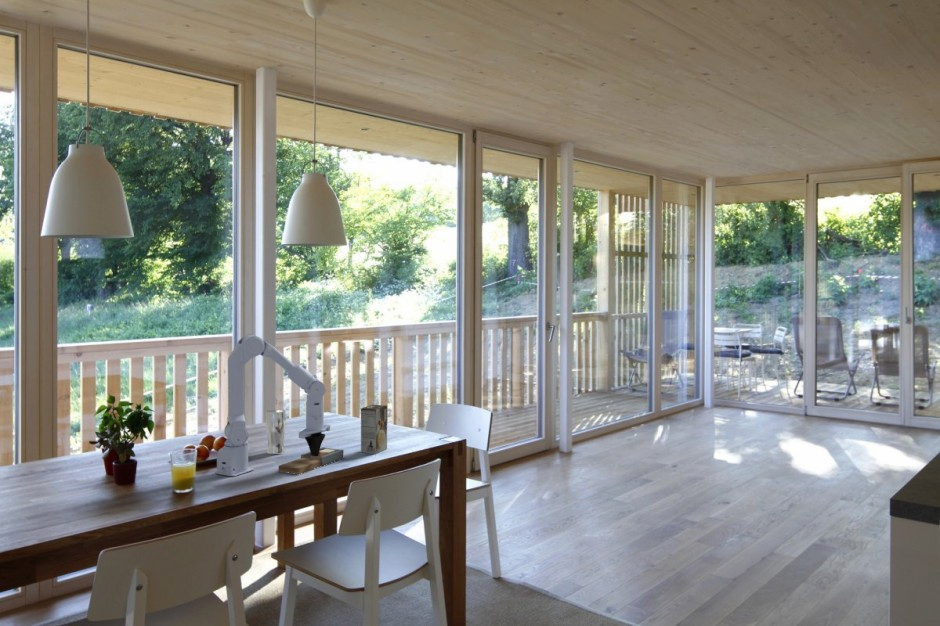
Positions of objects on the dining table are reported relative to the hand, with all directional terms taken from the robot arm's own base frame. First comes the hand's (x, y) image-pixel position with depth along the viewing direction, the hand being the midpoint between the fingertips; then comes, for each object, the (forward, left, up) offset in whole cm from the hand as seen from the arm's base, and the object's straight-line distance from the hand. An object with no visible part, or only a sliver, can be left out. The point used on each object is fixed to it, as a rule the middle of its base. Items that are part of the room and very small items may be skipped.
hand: (314, 455), depth 246 cm
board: (-7, 0, -3) cm, 8 cm away
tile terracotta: (+2, 0, -2) cm, 3 cm away
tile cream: (+7, 0, -2) cm, 7 cm away
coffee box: (+26, -7, -3) cm, 27 cm away
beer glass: (+7, +22, -3) cm, 23 cm away
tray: (+5, 0, -3) cm, 5 cm away
